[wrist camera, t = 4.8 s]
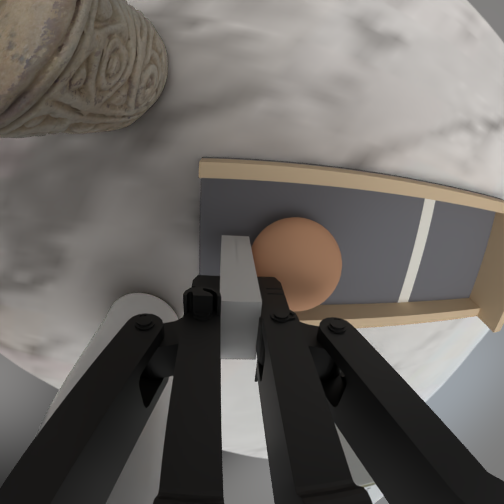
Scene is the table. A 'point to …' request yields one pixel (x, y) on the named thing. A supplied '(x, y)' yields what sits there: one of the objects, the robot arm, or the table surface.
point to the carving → (76, 66)
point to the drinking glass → (152, 437)
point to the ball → (299, 260)
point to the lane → (368, 238)
